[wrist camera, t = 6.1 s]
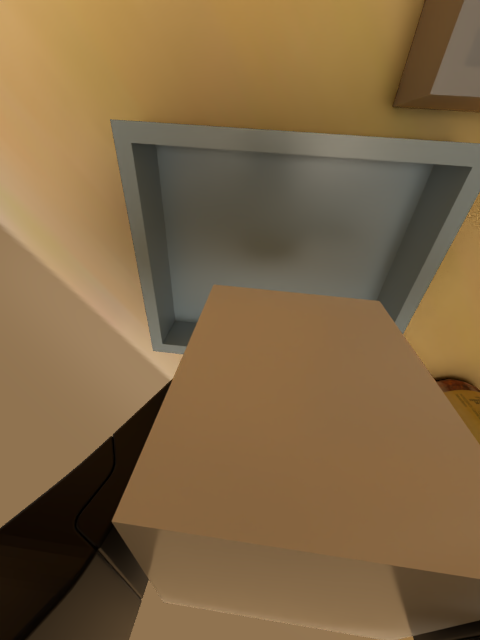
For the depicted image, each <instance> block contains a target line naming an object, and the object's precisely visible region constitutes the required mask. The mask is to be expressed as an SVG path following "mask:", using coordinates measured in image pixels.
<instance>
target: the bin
mask: <svg viewBox="0 0 480 640" xmlns="http://www.w3.org/2000/svg"><path fill="white" fill-rule="evenodd" d="M110 121H111V127H112V132H113V138H114V143H115V148H116V154H117V159H118V164H119V170H120V175H121V181H122V186H123V191H124V197H125V202H126V207H127V213H128V218H129V224H130V229H131V234H132V240H133V245H134V250H135V256H136V261H137V267H138V272H139V277H140V283H141V288H142V293H143V299H144V304H145V310H146V315H147V320H148V326H149V331H150V336H151V342H152V347H153V351H158V352H167V353H176V354H184V352H185V350H186V347H187V345H188V343H189V340H190V338H191V336H192V333H193V331H194V329H195V327H196V324H197V322H198V320H199V317H200V315H201V313H202V310H203V308H204V306H205V303H206V301H207V299H208V296H209V294H210V292H211V289H212V287H213V285H224V286H234V287H244V288H254V289H264V290H274V291H284V292H294V293H304V294H314V295H324V296H334V297H344V298H354V299H365V300H375V301H380V302H381V304H382V305H383V307H384V308H385V310H386V311H387V313H388V314H389V315H390V317H391V318H392V320H393V321H394V323H395V324H396V325H397V327H398V328H399V330H400V331H401V333H402V334H403V333H404V331H405V329H406V327H407V325H408V324H409V322H410V320H411V318H412V316H413V314H414V313H415V311H416V309H417V307H418V305H419V303H420V301H421V300H422V298H423V296H424V294H425V292H426V290H427V288H428V287H429V285H430V283H431V281H432V279H433V277H434V275H435V274H436V272H437V270H438V268H439V266H440V264H441V262H442V261H443V259H444V257H445V255H446V253H447V251H448V249H449V248H450V246H451V244H452V242H453V240H454V238H455V236H456V235H457V233H458V231H459V229H460V227H461V225H462V223H463V222H464V220H465V218H466V216H467V214H468V212H469V210H470V209H471V207H472V205H473V203H474V201H475V199H476V197H477V196H478V194H479V192H480V144H477V143H462V142H447V141H432V140H416V139H401V138H386V137H370V136H355V135H340V134H324V133H309V132H294V131H279V130H263V129H248V128H233V127H217V126H202V125H187V124H172V123H156V122H141V121H126V120H110Z"/></svg>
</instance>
